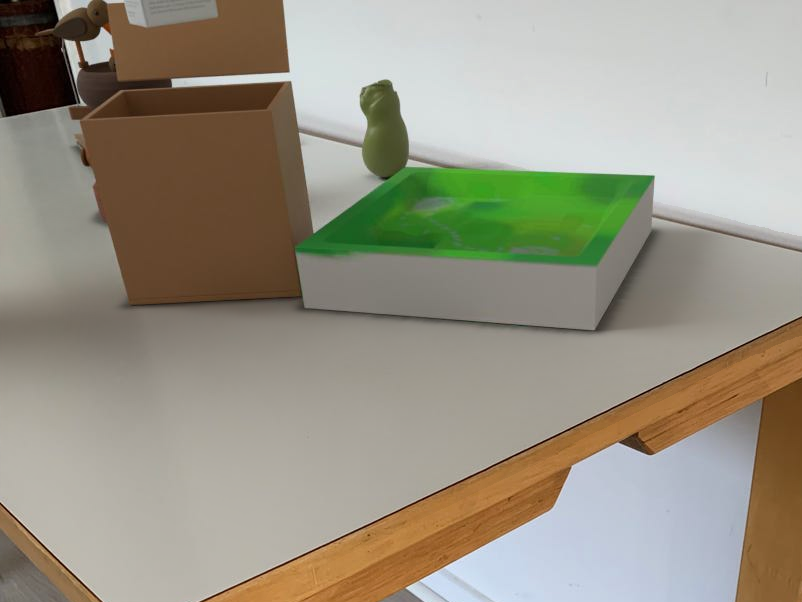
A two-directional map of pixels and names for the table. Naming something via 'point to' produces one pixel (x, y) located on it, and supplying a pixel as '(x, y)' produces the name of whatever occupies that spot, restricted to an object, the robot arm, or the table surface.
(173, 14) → the cosmetic box
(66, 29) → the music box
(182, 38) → the flap
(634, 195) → the green flat square box
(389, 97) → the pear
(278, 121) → the carton
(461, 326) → the table surface
